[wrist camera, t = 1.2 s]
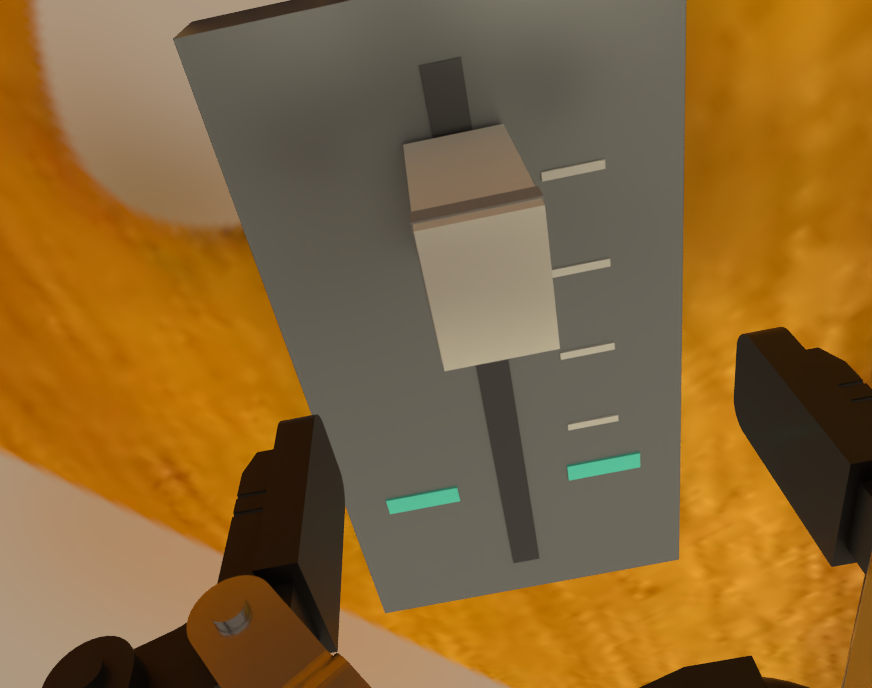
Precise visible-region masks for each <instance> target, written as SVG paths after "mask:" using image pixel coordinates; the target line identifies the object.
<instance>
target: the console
mask: <svg viewBox="0 0 872 688" xmlns="http://www.w3.org/2000/svg"><path fill="white" fill-rule="evenodd" d="M173 40H174V43H175V46H176V48H177V51H178V54H179V56H180V59H181V62H182V65H183V67H184V70H185V73H186V75H187V78H188V81H189V83H190V86H191V89H192V91H193V94H194V97H195V99H196V102H197V105H198V108H199V110H200V113H201V115H202V119H203V121H204V124H205V127H206V129H207V132H208V135H209V138H210V140H211V143H212V145H213V148H214V151H215V154H216V157H217V159H218V162H219V165H220V167H221V170H222V173H223V175H224V178H225V181H226V184H227V186H228V189H229V192H230V194H231V197H232V200H233V202H234V205H235V208H236V211H237V213H238V216H239V219H240V221H241V224H242V227H243V230H244V232H245V235H246V238H247V240H248V243H249V246H250V249H251V251H252V254H253V257H254V259H255V262H256V265H257V267H258V270H259V273H260V276H261V278H262V281H263V284H264V286H265V289H266V292H267V295H268V297H269V300H270V303H271V305H272V308H273V311H274V313H275V316H276V319H277V322H278V324H279V327H280V330H281V332H282V335H283V338H284V341H285V343H286V346H287V349H288V351H289V354H290V357H291V359H292V362H293V365H294V368H295V370H296V373H297V376H298V378H299V381H300V384H301V387H302V389H303V392H304V395H305V397H306V400H307V403H308V405H309V408H310V411H311V414H312V415H316V414H318V415H319V416H320V417H321V419H322V422H323V424H324V427H325V430H326V432H327V435H328V438H329V441H330V444H331V446H332V449H333V452H334V455H335V458H336V460H337V463H338V466H339V469H340V472H341V475H342V480H343V485H344V492H345V506H346V508H347V511H348V514H349V516H350V519H351V522H352V525H353V527H354V530H355V533H356V535H357V538H358V541H359V543H360V546H361V549H362V552H363V554H364V557H365V560H366V562H367V565H368V568H369V571H370V573H371V576H372V579H373V581H374V584H375V587H376V589H377V592H378V595H379V598H380V600H381V603H382V606H383V608H384V611H385V613H389V612H394V611H400V610H405V609H411V608H416V607H422V606H427V605H433V604H438V603H444V602H449V601H454V600H460V599H465V598H471V597H476V596H482V595H487V594H493V593H498V592H504V591H509V590H515V589H520V588H525V587H531V586H536V585H542V584H547V583H553V582H558V581H564V580H569V579H575V578H580V577H586V576H591V575H596V574H602V573H607V572H613V571H618V570H624V569H629V568H635V567H640V566H646V565H651V564H656V563H662V562H667V561H673V560H678V559H679V510H680V432H681V355H682V278H683V200H684V123H685V46H686V0H290V1H285V2H280V3H276V4H272V5H267V6H262V7H258V8H253V9H248V10H244V11H239V12H235V13H230V14H225V15H221V16H216V17H212V18H207V19H202V20H198V21H194V22H191V23H190V24H189V25H188V26H187V27H186V28H184V29H183V30H182V31H181V32H180V33H179V34H178V35H177V36H176V37H175V38H173ZM500 124H504V126H505V128H506V130H507V132H508V134H509V136H510V138H511V140H512V142H513V144H514V146H515V148H516V149H517V151H518V153H519V155H520V157H521V159H522V161H523V163H524V165H525V167H526V169H527V171H528V173H529V175H530V177H531V179H532V181H533V183H534V185H535V186H539V188H540V190H541V192H542V194H543V197H544V204H545V210H546V220H547V229H548V239H549V248H550V258H551V267H552V277H553V286H554V296H555V306H556V315H557V325H558V334H559V344H560V349H557V350H552V351H547V352H541V353H536V354H531V355H526V356H521V357H516V358H511V359H506V360H501V361H495V362H490V363H485V364H480V365H475V366H470V367H465V368H460V369H455V370H449V371H444V366H443V364H442V363H441V359H440V354H439V350H438V345H437V341H436V336H435V332H434V327H433V323H432V319H431V314H430V310H429V305H428V301H427V296H426V292H425V287H424V283H423V278H422V274H421V269H420V265H419V260H418V256H417V251H416V247H415V242H414V238H413V233H412V229H411V224H410V217H409V212H411V206H410V198H409V190H408V181H407V173H406V165H405V157H404V148H403V145H404V144H409V143H414V142H418V141H423V140H428V139H433V138H438V137H442V136H447V135H452V134H457V133H461V132H466V131H471V130H476V129H481V128H485V127H490V126H495V125H500Z"/></svg>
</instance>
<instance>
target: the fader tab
mask: <svg viewBox="0 0 872 688" xmlns="http://www.w3.org/2000/svg"><path fill="white" fill-rule="evenodd" d="M403 148H404V157H405V165H406V173H407V181H408V190H409V198H410V206H411V212H409V217H410V224H411V229H412V233H413V238H414V242H415V247H416V251H417V256H418V260H419V265H420V269H421V274H422V278H423V283H424V287H425V292H426V296H427V301H428V305H429V310H430V314H431V319H432V323H433V327H434V332H435V336H436V341H437V345H438V350H439V354H440V359H441V363H442V364H443V366H444V371H449V370H455V369H460V368H465V367H470V366H475V365H480V364H485V363H490V362H495V361H501V360H506V359H511V358H516V357H521V356H526V355H531V354H536V353H541V352H547V351H552V350H557V349H560V344H559V334H558V325H557V315H556V306H555V296H554V286H553V277H552V267H551V258H550V248H549V239H548V229H547V220H546V210H545V204H544V197H543V194H542V192H541V190H540V188H539V186H535V185H534V183H533V181H532V179H531V177H530V175H529V173H528V171H527V169H526V167H525V165H524V163H523V161H522V159H521V157H520V155H519V153H518V151H517V149H516V148H515V146H514V144H513V142H512V140H511V138H510V136H509V134H508V132H507V130H506V128H505V126H504V124H500V125H495V126H490V127H485V128H481V129H476V130H471V131H466V132H461V133H457V134H452V135H447V136H442V137H438V138H433V139H428V140H423V141H418V142H414V143H409V144H404V145H403Z"/></svg>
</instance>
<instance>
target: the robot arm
mask: <svg viewBox="0 0 872 688" xmlns="http://www.w3.org/2000/svg"><path fill="white" fill-rule="evenodd" d="M734 406H735V412H736V416H737V419H738V422H739V425H740V427H741V429H742V431H743V432H744V434H745V435H746V437H747V439H748V440H749V442H750V443H751V445H752V446H753V448H754V449H755V451H756V452H757V454H758V455H759V457H760V458H761V460H762V461H763V463H764V464H765V466H766V468H767V469H768V471H769V472H770V474H771V475H772V477H773V478H774V480H775V481H776V483H777V484H778V486H779V487H780V489H781V490H782V492H783V493H784V495H785V497H786V498H787V500H788V501H789V503H790V504H791V506H792V507H793V509H794V510H795V512H796V513H797V515H798V516H799V518H800V519H801V521H802V522H803V524H804V526H805V527H806V529H807V530H808V532H809V533H810V535H811V536H812V538H813V539H814V541H815V542H816V544H817V545H818V547H819V548H820V550H821V552H822V553H823V555H824V556H825V558H826V559H827V561H828V562H829V564H830V565H831V567H834V566H839V565H845V564H851V563H856V562H857V563H858V565H859V566H860V568H861V569H862V571H863V572H864V573H865V577H864V582H863V586H862V591H861V595H860V600H859V605H858V610H857V614H856V619H855V624H854V629H853V634H852V638H851V643H850V648H849V653H848V657H847V662H846V667H845V672H844V676H843V681H842V685H841V688H872V389H871V388H870V387H869V386H868V385H867V384H864V383H863V380H862V379H861V378H860V377H859V375H858V374H857V373H856V372H855V371H854V370H853V369H852V368H851V367H850V366H849V365H848V364H847V363H846V362H845V361H843V360H841V359H839V358H837V357H836V356H834V355H832V354H830V353H828V352H826V351H824V350H822V349H820V348H813V349H808V350H805V348H804V347H803V346H802V345H801V344H800V343H799V342H798V341H797V339H796V338H795V337H794V336H793V335H792V334H791V333H790V332H789V331H788V330H787V329H786V328H784V327H777V328H772V329H767V330H762V331H757V332H751V333H746V334H742V335H740V336H739V338H738V341H737V352H736V370H735V387H734ZM237 496H238V499H236V503H235V508H234V512H233V513H234V517H232V521H231V525H230V530H229V534H228V539H227V543H226V548H225V552H224V556H223V561H222V565H221V570H220V574H219V579H218V583H217V584H216V585H215V586H213V587H212V588H210V589H209V590H208V591H207V592H205V593H204V594H203V595H202V596H201V598H200V599H199V600H198V601H197V602H196V604H195V605H194V607H193V609H192V610H191V612H190V615H189V617H188V621H187V623H185V624H184V625H183V626H181V627H179V628H177V629H175V630H174V631H172V632H169V633H167V634H165V635H163V636H161V637H159V638H157V639H155V640H152V641H150V642H148V643H146V644H144V645H142V646H140V647H137V648H135V649H133V648H132V647H131V645H130V644H129V643H128V642H127V641H126V640H124V639H122V638H120V637H116V636H104V637H99V638H95V639H92V640H90V641H87V642H85V643H83V644H81V645H80V646H78V647H76V648H75V649H73V650H72V651H71V652H69V653H68V654H67V655H66V656H65V657H63V658H62V659H61V660H60V661H59V663H57V665H56V666H55V667H54V668H53V669H52V671H51V672H50V673H49V675H48V677H47V678H46V680H45V682H44V684H43V687H42V688H371V687H370V686H369V685H368V683H367V682H366V681H365V680H364V679H363V678H362V677H361V676H360V675H359V673H358V672H357V671H356V670H355V669H354V668H353V667H352V666H351V665H350V663H349V662H348V661H347V660H346V659H345V658H344V657H342V656H341V655H340V654H338V653H336V654H335V655H334V656H332V655H331V654H330V653H332V652H337V651H338V631H339V612H340V592H341V573H342V553H343V534H344V515H345V492H344V485H343V480H342V475H341V472H340V469H339V466H338V463H337V460H336V458H335V455H334V452H333V449H332V446H331V444H330V441H329V438H328V435H327V432H326V430H325V427H324V424H323V422H322V419H321V417H320V416H319V415H318V414H316V415H311V416H305V417H300V418H295V419H290V420H284V421H280V422H279V424H278V428H277V433H276V439H275V444H274V449H273V450H268V451H262V452H257V453H256V455H255V456H254V458H253V459H252V460H251V462H250V463H249V465H248V466H247V467H246V469H245V470H244V472H243V473H242V477H241V481H240V485H239V490H238V494H237ZM640 688H809V687H806V686H803V685H799V684H796V683H793V682H789V681H784V680H779V679H774V678H766V677H762V676H761V674H760V672H759V670H758V668H757V666H756V664H755V662H754V660H753V657H752V656H746V657H740V658H734V659H728V660H723V661H717V662H711V663H705V664H699V665H693V666H687V667H683V668H681V669H679V670H677V671H675V672H672V673H670V674H668V675H666V676H664V677H662V678H659V679H657V680H655V681H653V682H651V683H649V684H647V685H644V686H642V687H640Z"/></svg>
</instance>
